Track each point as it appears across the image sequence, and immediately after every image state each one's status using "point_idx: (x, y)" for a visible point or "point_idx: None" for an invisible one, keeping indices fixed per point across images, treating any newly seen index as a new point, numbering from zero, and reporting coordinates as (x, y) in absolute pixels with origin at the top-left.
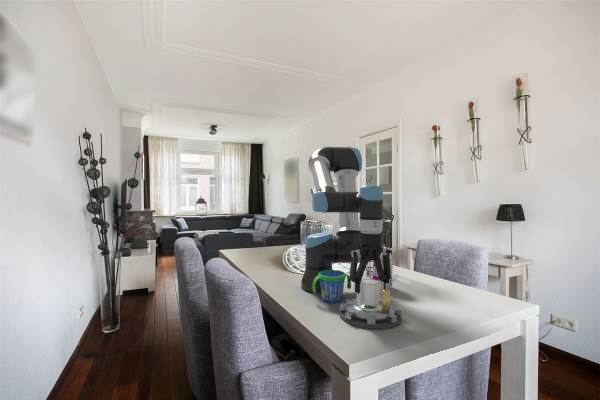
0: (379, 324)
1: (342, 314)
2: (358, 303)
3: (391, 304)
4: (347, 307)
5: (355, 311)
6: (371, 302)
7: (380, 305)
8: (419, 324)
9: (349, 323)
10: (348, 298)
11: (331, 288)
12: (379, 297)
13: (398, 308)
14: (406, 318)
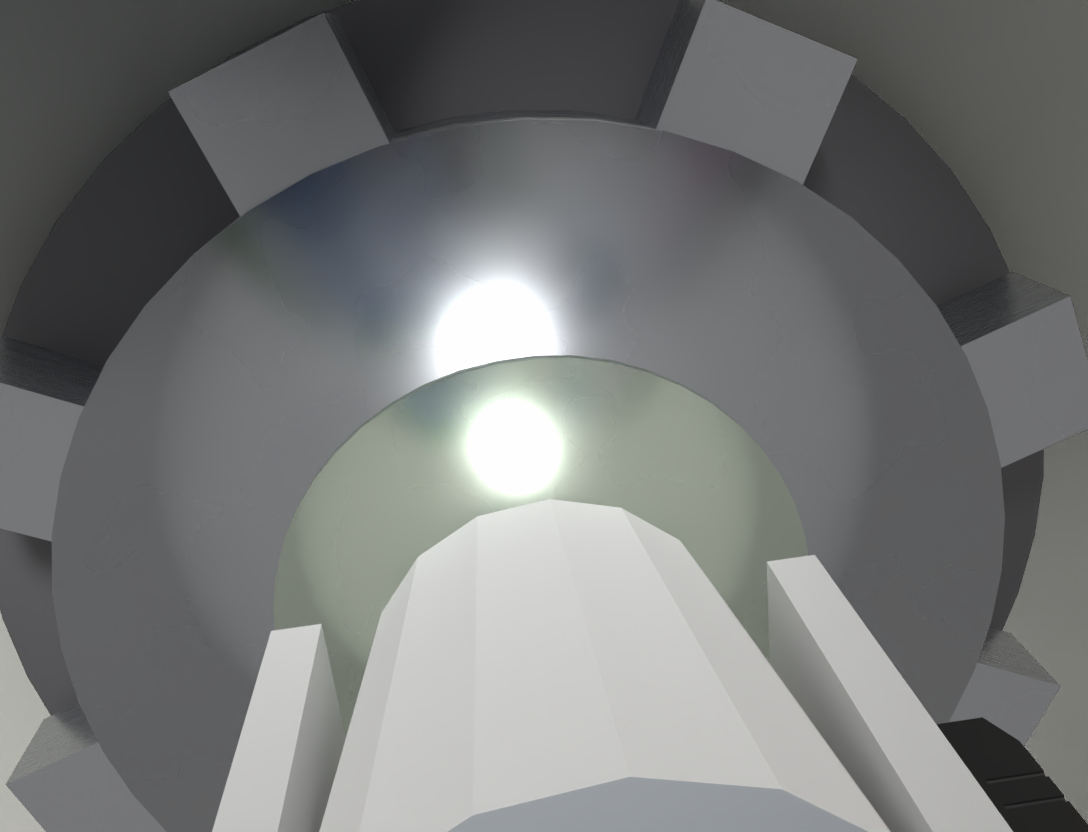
0: None
1: (24, 556)
2: (353, 495)
3: (995, 569)
4: (74, 631)
5: (190, 803)
6: None
7: (753, 625)
8: None
9: None
10: (219, 92)
11: None
12: (793, 690)
13: (1002, 723)
14: (1036, 643)
